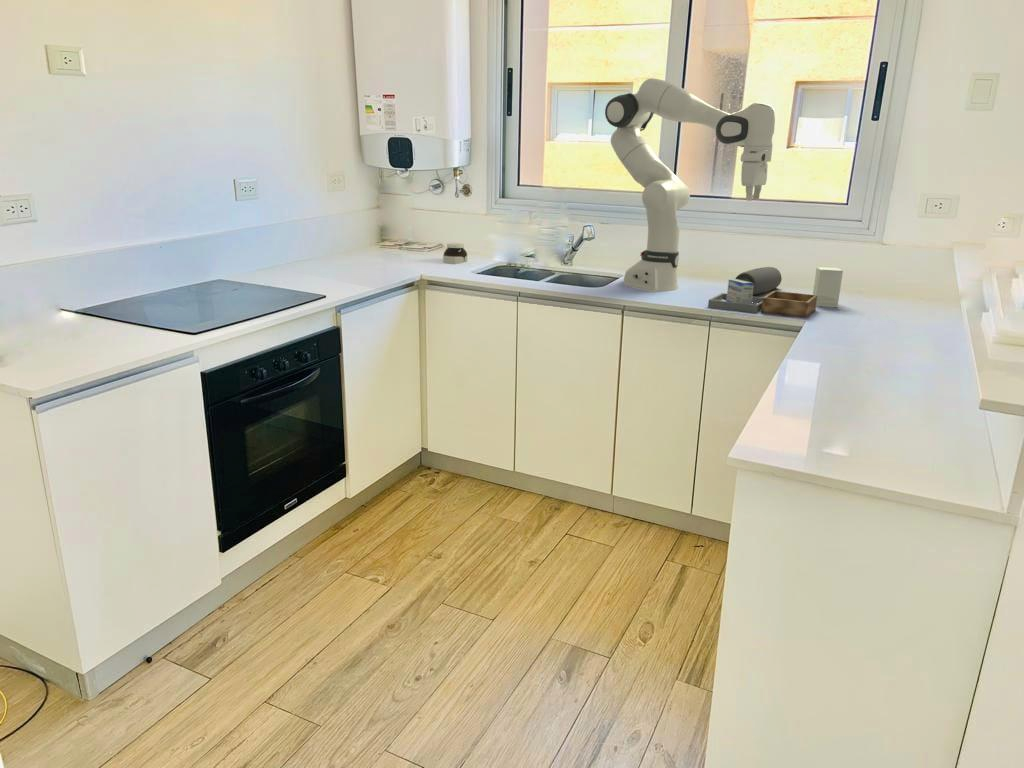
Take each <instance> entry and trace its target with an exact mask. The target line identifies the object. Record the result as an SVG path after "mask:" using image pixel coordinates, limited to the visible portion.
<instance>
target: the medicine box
mask: <svg viewBox="0 0 1024 768" xmlns="http://www.w3.org/2000/svg"><path fill="white" fill-rule="evenodd" d="M753 288H754V283H751V282H747V281H743V280H739V279H735V278H732V279H728V284H727V292H726V294H727V299H725V301H727V302H735V303H744V304H753V303H752V295H753Z"/></svg>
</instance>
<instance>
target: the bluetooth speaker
mask: <svg viewBox="0 0 1024 768" xmlns="http://www.w3.org/2000/svg"><path fill="white" fill-rule="evenodd" d="M734 279H739V280H743V281H747V282H751V283H754V288H753V295H754V296H757V295H758V296H759V295H762V294H765V293H768V292H770V291H772V290H773V291H774V290H775V289H776V288H778V287H779V286H780V285H781V283H782V280H783V279H782V274H781V271H780V270H779V269H778V268H776V267H773V266H763V267H758V268H757V267H756V268H753V269H749V270H747V271H743V272H741V273H739V274H738V275H736V277H735V278H734ZM753 295H752V296H753ZM754 296H753V297H754Z"/></svg>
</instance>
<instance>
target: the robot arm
mask: <svg viewBox="0 0 1024 768" xmlns="http://www.w3.org/2000/svg"><path fill="white" fill-rule="evenodd" d="M604 115H605V119H606V121H607V122H608V124H610V125H611V126H612V127H615V128H616V129H615V130H614V131H613V133H612V134H611V137H610V144H611V147H612V149H613V151H614V153H615V155H616V157H617V158H618V159H619V161H620V162H621V164H622V165H623V166H624V168H625V169H626V170H627V172H628V173H629V175H630V176H631V177H632V178H633V181H635V182H636V183H637V184H639V185H640V186H641V187H643V188H644V189H643V191H642V194H641V200H642V201H641V202H642V204H643V206H644V208H645V214H646V220H647V242H646V243H647V245H646V249H644V250H643V251H642V252H640V256H641V259H640V260H639V261H638V262H636V263H635V264H633V265H632V266H631V267H629V268H628V269H627V270H626V271H625V273H624V276H623V281H622V285H624V286H626V287H627V288H632V289H635V290H641V291H645V292H650V293H651V292H654V293H655V292H672V291H677V290H679V283H678V271H677V270H678V269H677V268H678V265H679V259H680V258H679V257H680V255H679V253H680V252H679V251H678V250H679V239H680V226H679V225H678V219H677V211H679V210H680V209H682V208H684V207H685V206H686V205H688V202H689V201H690V198H691V193H690V192H691V191H690V189H689V186H688V185H687V184H685V183H684V182H683V181H682V180H680V178H679V177H678V176H677V175H676V174H675V173H674V172H673V171H672V170H671V169H670V168H669V167H668V166H666V165H665V164H664V162H663V161H662V160H661V159H660V158H659V157H658V155H657V154H656V153H655V152H654V150H653V149H652V147H650V145H649V144H648V143H647V141H646V140H645V139H644V137H643V136H642V134H641V132H642V131H643V132H644V130H645V129H646V128H647V125H648V124H649V123H650V121H651V120H652V118H653V117H654V115H656V116H658V117H661V118H663V119H666V120H669V121H673V122H677V123H688V124H689V123H691V124H699V125H703V126H707V127H709V128H711V129H713V130H715V136H716V139H718V141H719V142H720V143H722V144H724V145H727V146H736V147H741V148H743V150H742V151H743V152H742V153H741V155H740V163H741V162H742V163H741V173H740V174H741V175H740V177H741V178H740V179H741V180H740V181H741V182H740V183H741V185H742V186H743V187H745V194H746V195H745V200H746V201H748V202H749V201H750V202H751V201H752V200H759V199H760V195H761V191H762V186H766V184H767V180H768V179H767V178H768V163H770V162H772V153H773V136H774V134H775V125H776V111H775V108H774V107H773V105H771V104H767V103H763V102H762V103H761V102H751V103H749V105H748V106H746V107H744V108H743V109H740V110H739V111H737V112H736V111H735V112H733V113H728V112H726V111H725V110H721V109H719V108H716V107H714V106H712V105H710V104H708V103H706V102H705V101H703V100H702V99H700V98H699V97H697V96H695V95H694V94H693V93H691V92H689V91H688V90H687V89H684V88H683V87H681V86H679V85H677V84H674V83H673V82H669V81H666V80H663V79H659V78H653V77H651V78H648V79H646V80H644V81H643V82H642V83H641V85H640V86H639V89H638V91H637V92H636V93H630V92H629V93H626V94H619V95H617V96H614V97H613V98H611V99H610V100H609V101H608V102H607V103H606V106H605V109H604ZM640 256H639V257H640Z"/></svg>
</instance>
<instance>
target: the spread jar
mask: <svg viewBox="0 0 1024 768" xmlns="http://www.w3.org/2000/svg"><path fill="white" fill-rule="evenodd" d="M464 246H465V245H464V243H463V242H448V243H446V247H447V248H445V251H444V253H443V256H442V257H443V258H442V259H443V261H442V262H443V263H444V264H449V265H460V264H465V263H467V262H468V252H467V251H466V249H465V248H464Z"/></svg>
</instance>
